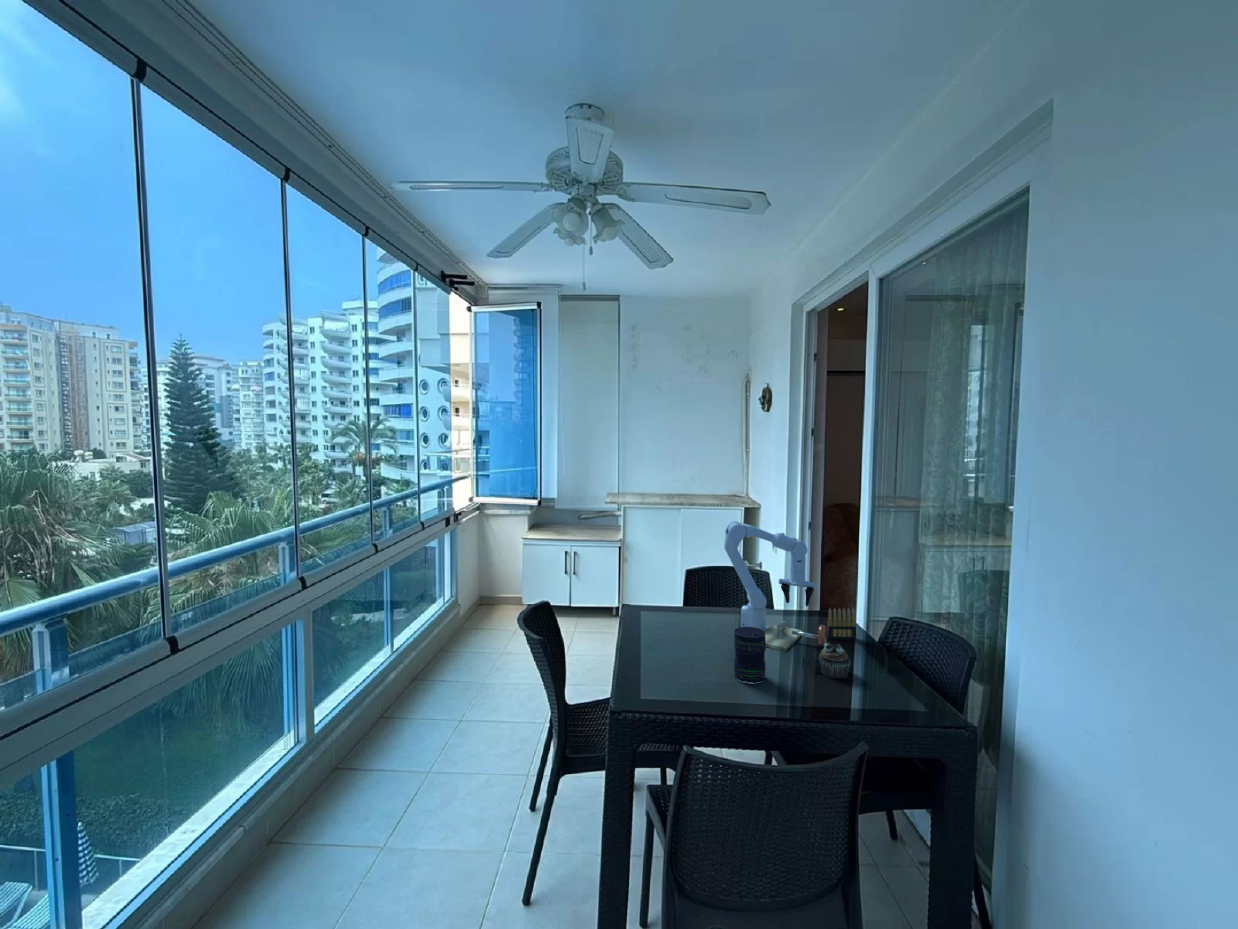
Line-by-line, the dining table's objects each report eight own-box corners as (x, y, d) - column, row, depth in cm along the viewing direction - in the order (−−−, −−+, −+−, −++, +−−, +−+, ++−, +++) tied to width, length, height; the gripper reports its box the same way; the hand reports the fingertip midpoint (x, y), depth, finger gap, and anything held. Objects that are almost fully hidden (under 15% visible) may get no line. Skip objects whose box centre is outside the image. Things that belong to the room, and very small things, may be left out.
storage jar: (727, 674, 180) (727, 629, 180) (752, 669, 184) (752, 625, 184) (746, 687, 171) (746, 639, 171) (772, 681, 175) (772, 634, 174)
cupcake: (853, 681, 175) (853, 650, 175) (821, 678, 177) (821, 647, 176) (847, 669, 184) (847, 639, 184) (816, 666, 186) (816, 637, 186)
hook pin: (789, 641, 207) (789, 623, 207) (794, 636, 213) (794, 617, 213) (822, 648, 200) (823, 628, 200) (827, 642, 206) (827, 623, 206)
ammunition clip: (854, 638, 213) (855, 607, 213) (856, 640, 211) (857, 608, 211) (826, 637, 214) (826, 606, 213) (827, 639, 212) (828, 608, 212)
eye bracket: (753, 644, 207) (753, 628, 207) (772, 627, 225) (772, 612, 225) (786, 651, 200) (786, 634, 200) (802, 633, 219) (802, 617, 218)
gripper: (776, 570, 222) (776, 603, 223) (813, 574, 214) (813, 609, 215) (781, 566, 228) (781, 599, 229) (818, 571, 220) (817, 605, 221)
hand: (797, 604), depth 222 cm, fingers open, 7 cm apart
